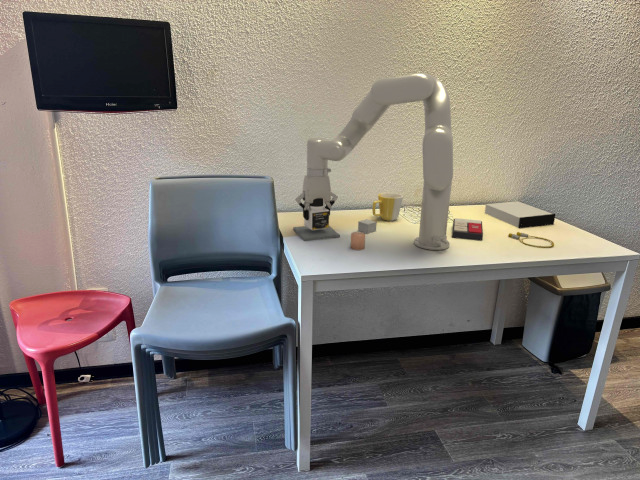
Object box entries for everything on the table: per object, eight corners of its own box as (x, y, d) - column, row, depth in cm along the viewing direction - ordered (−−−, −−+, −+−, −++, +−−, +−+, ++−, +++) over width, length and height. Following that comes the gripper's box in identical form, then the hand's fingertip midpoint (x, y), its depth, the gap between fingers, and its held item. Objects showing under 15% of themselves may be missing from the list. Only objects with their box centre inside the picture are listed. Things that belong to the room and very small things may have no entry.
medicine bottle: (312, 230, 183) (312, 199, 179) (303, 225, 189) (303, 195, 185) (329, 228, 186) (329, 197, 182) (320, 223, 192) (320, 193, 188)
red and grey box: (452, 229, 185) (453, 216, 199) (451, 240, 187) (452, 226, 200) (483, 232, 183) (482, 219, 196) (481, 243, 184) (480, 229, 198)
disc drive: (519, 229, 199) (521, 217, 197) (484, 214, 219) (485, 203, 217) (553, 225, 204) (555, 214, 203) (516, 211, 224) (517, 200, 223)
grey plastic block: (376, 231, 192) (376, 221, 191) (367, 234, 189) (367, 224, 188) (366, 228, 196) (367, 219, 194) (357, 231, 192) (358, 221, 191)
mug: (394, 214, 214) (395, 191, 211) (405, 221, 205) (407, 197, 202) (365, 217, 210) (366, 193, 206) (375, 224, 201) (377, 199, 197)
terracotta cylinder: (367, 249, 173) (367, 235, 172) (353, 250, 172) (354, 237, 170) (361, 244, 178) (361, 231, 176) (348, 246, 176) (348, 232, 174)
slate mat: (339, 237, 185) (339, 234, 184) (304, 241, 180) (304, 238, 180) (326, 226, 197) (326, 224, 197) (293, 229, 192) (293, 227, 192)
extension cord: (531, 234, 193) (532, 229, 192) (561, 248, 179) (562, 243, 178) (505, 236, 190) (506, 231, 189) (532, 250, 176) (533, 245, 175)
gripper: (335, 169, 187) (334, 213, 193) (291, 171, 181) (291, 217, 187) (343, 173, 180) (341, 219, 186) (297, 175, 175) (297, 223, 180)
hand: (316, 218), depth 186 cm, fingers closed on medicine bottle, 7 cm apart
